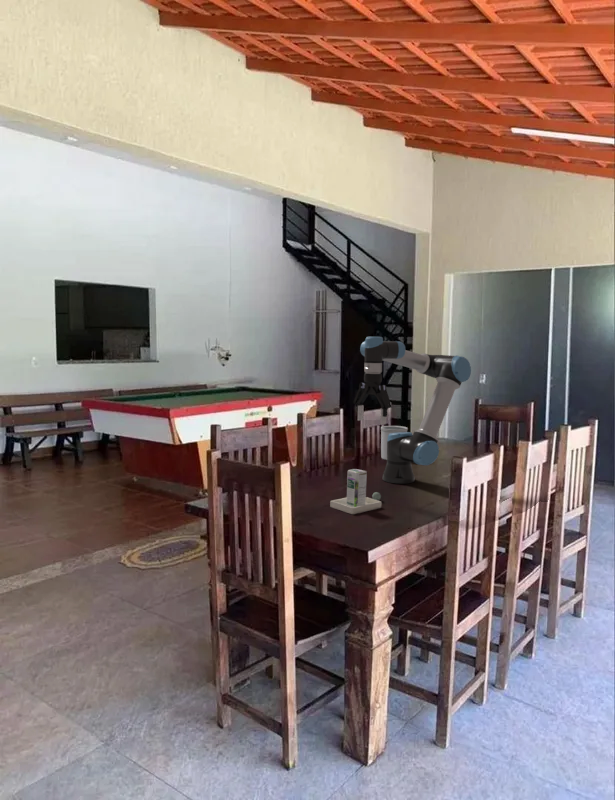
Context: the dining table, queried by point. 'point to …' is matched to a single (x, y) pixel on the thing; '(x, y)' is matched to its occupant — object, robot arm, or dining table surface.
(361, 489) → the syrup box
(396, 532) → the dining table surface
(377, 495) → the ball
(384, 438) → the utensil holder
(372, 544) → the dining table surface
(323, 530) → the dining table surface
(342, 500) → the tray
